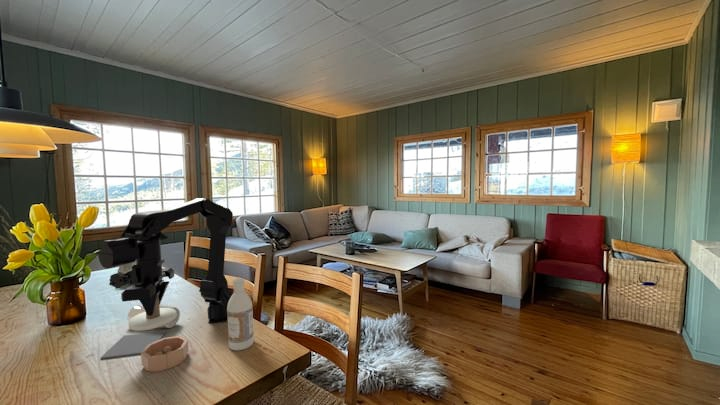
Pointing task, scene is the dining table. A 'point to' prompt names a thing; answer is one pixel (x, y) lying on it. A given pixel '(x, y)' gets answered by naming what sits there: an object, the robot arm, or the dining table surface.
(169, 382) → the dining table surface
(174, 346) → the bowl
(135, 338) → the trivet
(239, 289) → the bath foam
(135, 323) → the lid
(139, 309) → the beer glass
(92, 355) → the dining table surface
